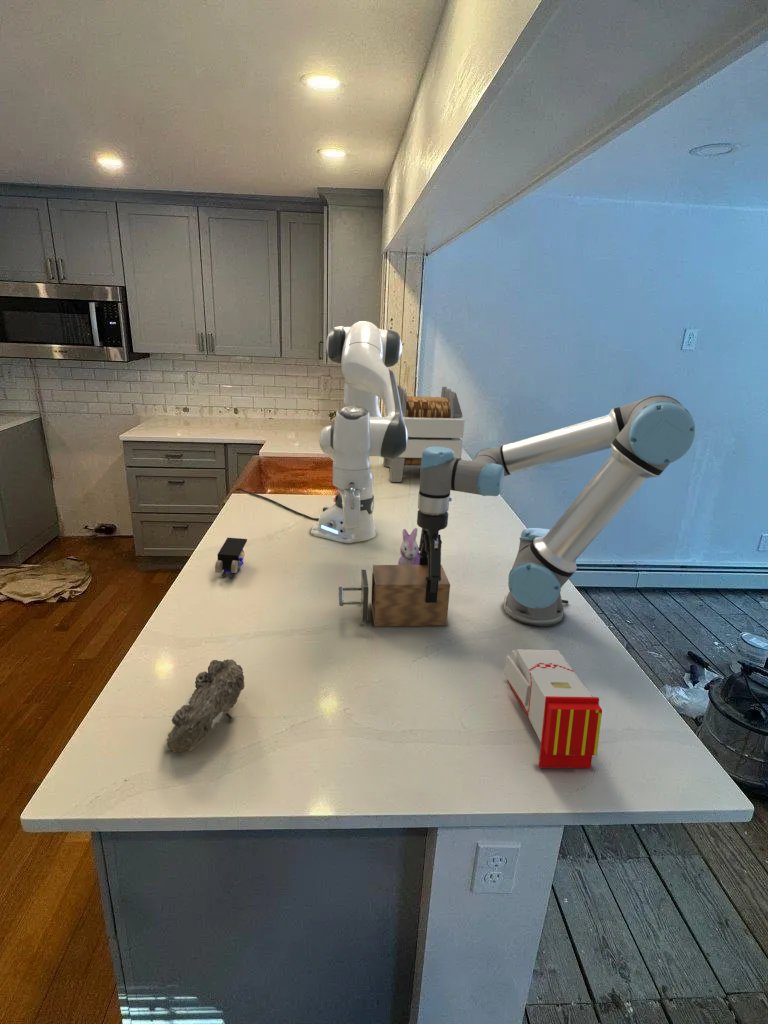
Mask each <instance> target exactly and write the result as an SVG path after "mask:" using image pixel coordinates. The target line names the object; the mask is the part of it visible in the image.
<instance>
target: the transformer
mask: <svg viewBox="0 0 768 1024" xmlns="http://www.w3.org/2000/svg"><path fill="white" fill-rule="evenodd" d="M397 387H398V392H399V398H400V403H401V409H402V414H403V418H404V422H405V426H406V429H407V433H408V443H407V447H406V450H405V452H403V453H402V454H401V455H400V456H398V457H397V458H395V459H390V458H383V466H384V467H388V468H389V475H388V476H389V477H388V478H389V480H390V482H391V483H402V482H403V475H404V469H405V466H406V467H407V466H411V467H412V466H413V467H415V466H416V467H417V466H418V467H420V466H421V460H422V453H423V451H424V450H425V449H426V448H428V447H445V448H449V449H451V450H452V451H453V452H454V458H455V459H460V460H463V459H462V453H463V442H464V441H463V440H462V439H463V438H464V431H465V430H464V429H465V419H464V418H463V411H462V408H461V405H460V402H459V398H458V395H457V392H455V391H453V390H452V389H451V388H447V386H442V387H441V392H440V393H441V394H440V396H415V395H414V396H413V395H412V396H411V395H407V394H408V393H407V390H406V389H404V388H403V387H402V385H399V384H397Z"/></svg>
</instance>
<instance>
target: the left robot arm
mask: <svg viewBox="0 0 768 1024" xmlns="http://www.w3.org/2000/svg"><path fill="white" fill-rule="evenodd" d="M325 340H326V341H325V349H326V353H327V356H328V358H329V360H330V361H331V362H334V363H336V364H339V365H341V367H340V368H341V374H342V376H343V377H344V385H343V404H344V405H343V406H344V407H340V408H339V409H338V410H337V411H336V413H335V418H334V422H333V423H332V424H329V425H326V426H324V427H323V428H322V430H321V431H320V434H319V438H318V442H319V447H320V449H321V451H322V452H323V454H325V455H326V456H327V457H328V458H330V459H331V460H332V485H333V486H334V487H335V488H337V494H336V495H335V496H334V497H333V502H334V504H333V505H331V506H329V507H325V506H324V507H323V508H322V512H321V514H320V515H319V517H311V516H309V515H307V514H304V513H302V512H299V511H296V510H295V509H293V508H291V507H288V506H285V505H283V504H282V503H279V502H278V501H275V500H273V499H271V498H268V497H266V496H263V495H260V494H257V493H255V492H251V491H248V490H245V489H243V488H240V487H238V488H236V489H235V491H236V492H237V491H241V492H243V493H246V494H248V495H253V496H256V497H258V498H261V499H264V500H266V501H269V502H271V503H274V504H276V505H278V506H279V507H282V508H284V509H285V510H288V511H290V512H292V513H294V514H297V515H299V516H302V517H305V518H307V519H309V520H312V521H317V523H315V524H314V525H313V526H312V528H311V530H310V533H311V536H315V537H319V538H323V539H326V540H330V541H336V542H339V543H343V544H352V543H357V542H365V541H368V540H372V539H373V538H375V537H376V535H377V532H376V528H375V523H374V513H373V512H374V509H375V496H374V474H373V472H372V471H371V460H370V457H377V458H378V457H380V458H382V459H384V458H390V459H395V458H397V457H398V456H400V455H401V454H402V453H403V452H405V450H406V447H407V443H408V433H407V429H406V426H405V422H404V418H403V414H402V409H401V403H400V398H399V392H398V387H397V386H398V384H397V379H396V376H395V373H394V372H393V370H392V369H390V367H393V366H395V365H397V364H398V363H399V360H400V358H401V356H402V353H403V342H402V339H401V335H400V334H399V333H398V332H397V331H395V330H392V329H383V328H379V327H378V326H377V325H376V324H374V323H373V322H370V321H368V320H361V321H357V322H354V323H353V324H352V325H351V326H344V325H340V326H339V325H338V326H334V327H332V328H331V330H329V333H328V335H327V337H326V339H325ZM380 399H381V400H382V402H383V405H384V412H385V416H382V413H381V410H380Z"/></svg>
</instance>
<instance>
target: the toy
mask: <svg viewBox="0 0 768 1024" xmlns="http://www.w3.org/2000/svg"><path fill="white" fill-rule="evenodd" d="M505 659H506V660H505V667H504V676H505V677H506V679H507V682H508V684H509V686H510V688H511V689H512V691H513V693H514V694H515V696H516V698H517V700H518V701H519V703H520V705H521V707H522V708H523V710H524V712H525V714H526V715H527V716H528V719H529V722H530V724H531V725H532V727H533V730H534V731H535V733H536V736H537V738H538V740H539V742H540V750H539V757H538V767H539V768H541V769H543V768H546V769H547V768H548V769H551V768H552V769H591V768H592V762H593V756H597V755H598V749H599V740H600V733H601V732H600V731H601V724H602V714H603V709H602V707H601V705H599V703H600V698H599V697H598V696H593V695H592V694H591V692H590V691H589V689H587V687H586V686H585V684H584V683H583V682H582V680H581V679H580V678H579V676H578V675H577V673H576V672H575V671H574V670H573V668H572V667H571V666H570V664H569V663H568V661H567V660H566V658H565V657H564V655H562V653H561V652H560V651H559V650H558V649H521V648H520V649H519V648H517V649H512V650H511V655H506V658H505Z"/></svg>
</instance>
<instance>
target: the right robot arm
mask: <svg viewBox="0 0 768 1024" xmlns="http://www.w3.org/2000/svg"><path fill="white" fill-rule="evenodd" d="M695 436H696V424H695V421H694V418H693V416H692V414H691V413H690V411H689V410H688V409H687V408H686V407H684V405H683V404H682V403H681V402H680V401H678V400H677V399H676V398H674V397H672V396H669V395H664V394H654V395H653V394H652V395H649V396H645V397H643V398H640V399H638V400H635V401H633V402H630V403H627V404H624V405H621V406H618V407H614V408H611V410H610V412H609V413H608V414H606V415H603V416H600V417H595V418H593V419H592V418H591V419H589V420H586V421H582V422H578V423H575V424H572V425H568V426H566V427H561V428H558V429H555V430H551V431H548V432H547V431H546V432H544V433H542V434H541V433H540V434H538V435H533V436H531V437H527V438H524V439H523V438H522V439H521V440H517V441H513V442H510V443H506V444H503V445H499V446H496V447H492V446H489V447H485V448H483V449H481V450H479V451H478V452H477V453H476V454H475V456H474V457H473V459H472V460H467V459H462V460H460V459H455V458H454V452H453V451H452V450H451V449H449V448H445V447H428V448H426V449H425V450H424V451H423V453H422V460H421V466H419V488H418V489H419V490H418V498H417V510H418V511H417V516H416V524H417V526H418V527H419V528H421V533H420V539H419V544H418V547H419V553H420V556H421V557H420V563H419V565H428V577H426V578H425V580H427V586H426V599H425V602H426V603H437V592H438V581H441V565H442V543H443V541H442V538H441V536H442V535H441V534H440V533H439V532H440V531H441V530H445V529H446V528H447V527H448V524H449V523H448V522H449V512H448V511H449V509H450V503H451V502H452V500H453V498H452V497H451V491H453V492H460V493H465V494H472V495H480V496H482V497H498V496H499V495H500V494H501V492H502V489H503V485H504V480H505V477H506V476H510V475H513V474H518V473H521V472H524V471H529V470H533V469H536V468H540V467H543V466H548V465H551V464H552V465H553V464H555V463H559V462H562V461H563V462H564V461H567V460H570V459H574V458H578V457H582V456H586V455H589V454H593V453H597V452H601V451H604V450H609V449H611V455H610V456H609V457H608V458H607V460H606V461H605V462H604V463H603V465H602V466H601V467H600V468H599V469H598V471H596V473H595V474H594V475H593V477H592V478H591V479H590V480H589V482H588V483H587V484H586V485H585V486H584V488H583V489H582V490H581V491H580V493H579V494H578V495H577V496H576V497H575V499H574V500H573V501H572V502H571V504H570V505H569V507H567V509H566V510H565V511H564V512H563V513H562V515H561V516H560V518H559V519H557V521H556V522H555V523H554V525H553V526H552V527H551V528H550V529H548V528H541V527H529V528H524V529H522V531H521V533H520V537H519V546H518V550H517V553H516V557H515V559H514V562H513V565H512V568H511V569H510V571H509V574H508V578H507V580H508V582H507V584H508V585H507V586H508V590H509V591H508V593H507V595H505V596H504V598H503V600H504V604H503V605H504V606H503V609H504V612H505V613H506V614H507V615H508V616H509V617H510V618H512V619H513V620H515V621H517V622H519V623H522V624H526V625H529V626H537V627H550V626H554V625H556V624H558V623H559V624H560V623H561V621H562V620H563V618H564V604H565V605H566V604H567V605H568V604H569V600H567V599H562V593H561V591H562V587H564V585H565V584H566V583H567V582H568V581H569V579H570V578H571V577H572V576H573V575H574V574H575V572H576V571H577V567H578V566H577V560H578V559H579V557H580V556H581V555H582V554H583V552H584V551H585V550H586V549H587V548H588V547H589V546H590V545H591V543H593V541H594V540H595V539H596V538H597V536H598V535H599V534H600V533H601V532H602V530H604V528H605V527H606V526H607V525H608V524H609V523H610V522H611V520H612V519H613V518H614V517H615V516H616V514H617V513H618V512H619V511H620V510H621V509H622V508H623V506H624V505H625V504H626V503H627V502H628V501H629V500H630V498H631V497H632V496H633V495H634V494H635V493H636V491H637V490H639V488H640V487H641V485H643V483H644V482H645V481H646V480H647V479H650V478H651V479H652V478H658V477H660V476H661V474H662V473H663V472H664V471H665V470H666V469H667V468H668V467H669V466H670V465H671V464H672V463H674V462H676V461H678V460H680V459H681V458H682V457H684V456H685V455H686V454H687V453H688V452H689V450H690V449H691V447H692V446H693V444H694V441H695Z"/></svg>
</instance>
